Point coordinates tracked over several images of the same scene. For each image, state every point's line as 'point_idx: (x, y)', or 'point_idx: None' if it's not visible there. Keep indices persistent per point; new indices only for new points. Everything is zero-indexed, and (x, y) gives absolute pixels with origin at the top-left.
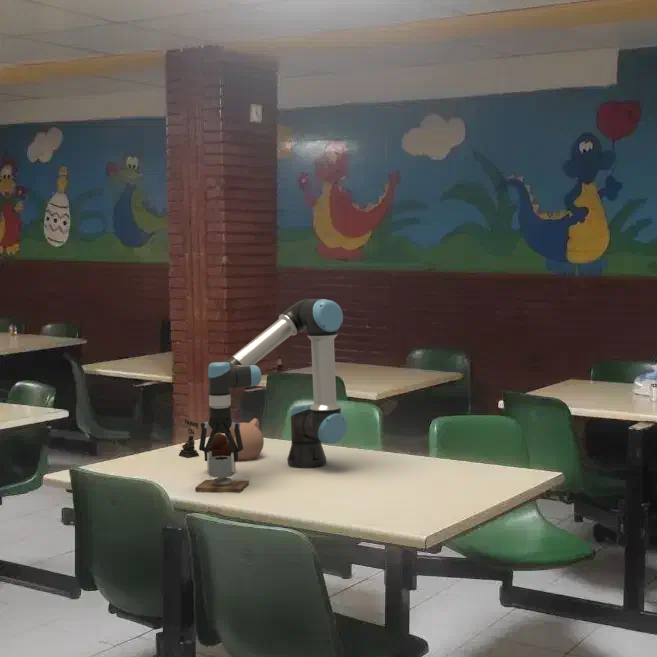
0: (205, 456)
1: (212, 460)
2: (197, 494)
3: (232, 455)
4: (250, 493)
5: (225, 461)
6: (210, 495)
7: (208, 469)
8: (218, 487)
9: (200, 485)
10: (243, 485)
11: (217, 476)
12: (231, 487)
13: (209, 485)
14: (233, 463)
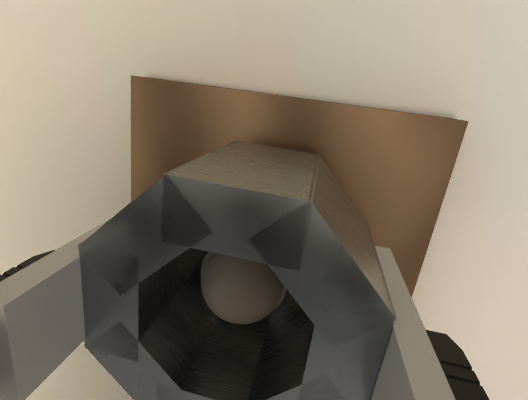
0: (467, 386)
1: (331, 226)
2: (435, 39)
3: (17, 282)
4: (82, 63)
5: (142, 194)
6: (331, 6)
7: (382, 253)
8: (283, 115)
9: (427, 185)
10: (132, 169)
11: (282, 149)
12: (192, 111)
13: (357, 180)
14: (91, 232)
